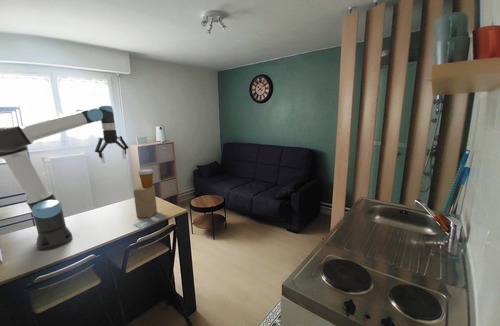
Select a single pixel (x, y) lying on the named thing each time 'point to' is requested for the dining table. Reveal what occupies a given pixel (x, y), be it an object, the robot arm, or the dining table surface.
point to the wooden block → (145, 201)
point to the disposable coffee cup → (146, 177)
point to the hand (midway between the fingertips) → (114, 160)
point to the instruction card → (149, 221)
